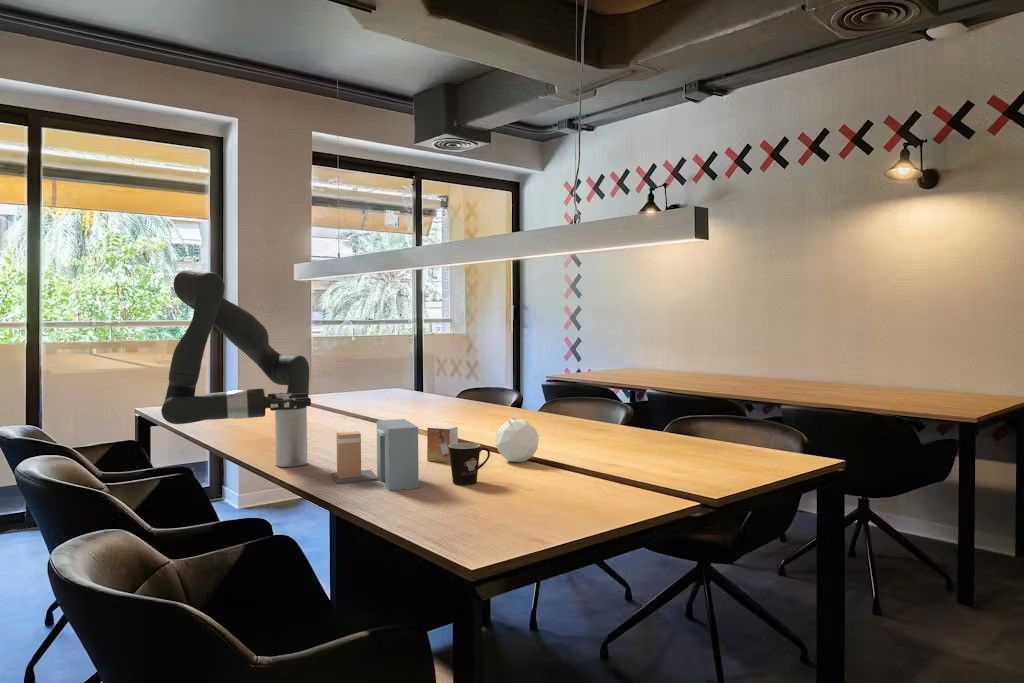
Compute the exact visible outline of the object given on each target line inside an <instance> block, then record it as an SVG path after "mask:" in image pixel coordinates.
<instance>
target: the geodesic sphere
mask: <svg viewBox="0 0 1024 683" xmlns="http://www.w3.org/2000/svg"><path fill="white" fill-rule="evenodd" d="M495 436H496V438H495V447H496V448H497V452H498V453H499V454H500V455H501V456H502V457H503V458H504V459H506V461H508V462H510V463H524V462H526V461H528V460H529V459H531V458H532V457H533V456H535V454H536V451H537V450H538V446H539V437H540V436H539V434H538V432H537V429H536V428H535V427H534V426H533V425H532V424H530V422H528V421H527V420H526V419H520V418H517V417H514V418H513V417H511V418H510V420H508V421H505V422H504V423H503V424H501V427H499V429H498V431H497V432H496V435H495Z"/></svg>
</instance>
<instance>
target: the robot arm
mask: <svg viewBox="0 0 1024 683" xmlns="http://www.w3.org/2000/svg"><path fill="white" fill-rule="evenodd" d="M173 279H174V280H173V290H174V293H175V294H176V297H178V299H179V300H180V302H183V304H185V305H187V306H188V307H190V308H191V309H193V314H192V315H193V316H192V317H191V318H192V319H191V321H190V324H189V326H188V328H186V331H185V333H184V334H183V335H182V337H181V338H180V339H179V341H178V343H177V344H176V346H175V348H174V350H173V353H172V357H171V361H170V362H171V363H170V367H169V372H168V384H167V390H166V395H165V398H164V402H163V403H162V405H161V406H162V407H161V410H160V411H161V416H162V418H163V419H164V420H165V421H166V422H167V423H169V424H172V425H186V424H193V423H197V422H198V423H199V422H203V421H208V420H209V421H210V420H214V421H215V420H225V419H233V420H237V419H238V420H239V419H251V418H263V417H265V416H266V409H270V411H271V412H273V411H274V427H275V428H274V429H275V430H274V433H275V465H276V467H280V468H295V467H301V466H305V465H308V416H307V415H308V414H307V412H308V411H307V408H308V407H310V406H312V400H311V398H310V396H309V395H310V394H309V391H310V366H309V365H310V364H309V362H308V360H307V358H306V357H305V356H303V355H300V354H281V353H279V352H278V351H276V349H275V348H273V347H272V346H271V345H270V340H269V333H268V330H267V329H266V327H265V326H264V325H263V323H262V322H260V321H259V320H258V319H257V318H256V317H255V316H254V315H253V314H251V313H250V312H249V311H247V310H246V309H244V308H242V307H240V305H237V304H235V303H234V302H231V301H230V300H227V299H226V298H224V295H225V294H224V293H225V282H224V280H223V277H221V275H219V274H218V273H216V272H213V271H208V270H201V269H196V268H187V269H183V270H180V271H179V272H178V273H177V274H176V275H175V277H174V278H173ZM213 326H214V327H215V328H216V329H217V330H218V331H219V332H220V333H221V334H222V335H224V337H225V338H227V340H228V341H229V342H231V343H232V344H233V345H234V346H235V347H237V348H238V349H239V350H241V351H242V352H243V353H244V355H246V356H247V357H248V358H249V359H250V360H252V361H253V362H254V364H256V365H257V366H258V368H260V370H262V372H263V373H264V374H265V375H266V377H267V378H268V379H269V380H270V381H271V382H272V383H274V384H276V385H278V386H287V391H286V392H279V393H268V394H267V396H265V389H264V388H250V389H236V390H231V391H221V392H210V393H205V394H204V395H196V387H197V383H198V381H199V377H200V372H201V368H202V364H203V362H202V361H203V358H204V353H205V349H206V345H207V343H208V340H209V336H210V334H211V331H212V328H213Z"/></svg>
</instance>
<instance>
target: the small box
mask: <svg viewBox="0 0 1024 683" xmlns="http://www.w3.org/2000/svg"><path fill="white" fill-rule="evenodd" d="M458 428H459V427H458V426H449V425H447V426H446V425H431V426H429V427H427V433H426V434H427V435H426V438H427V441H426V444H427V446H426V450H427V451H426V457H427V458H426V461H427V462H439V463H444V464H445V463H446V464H451V463H450V454H449V445H451V444H456V443H459V442H458V440H459V438H458V437H459V434H458V432H459V431H458Z"/></svg>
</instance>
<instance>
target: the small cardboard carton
mask: <svg viewBox="0 0 1024 683" xmlns="http://www.w3.org/2000/svg"><path fill="white" fill-rule="evenodd" d="M361 434H362V433H361V432H360V431H343V432H341V431H340V432H336V441H335V442H336V472H337V476H338V477H339V478H350V477H361V470H362V435H361Z"/></svg>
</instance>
